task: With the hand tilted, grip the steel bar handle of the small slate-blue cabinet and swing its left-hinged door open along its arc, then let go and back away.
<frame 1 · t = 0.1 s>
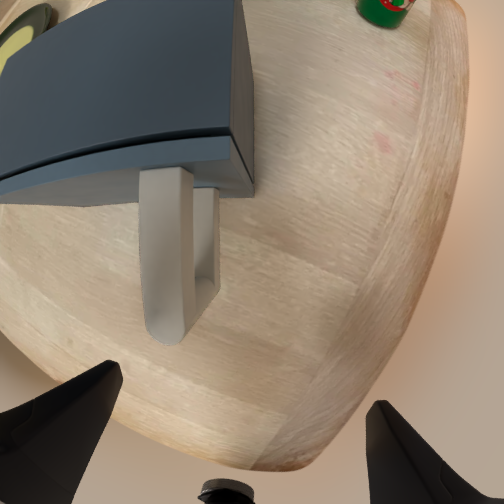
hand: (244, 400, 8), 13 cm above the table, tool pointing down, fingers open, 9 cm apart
cabinet door: (117, 239, 15), point 6 cm above the table, hinge at 0.0°
soda can: (377, 15, 17), on the table
plate: (2, 74, 21), on the table
cabinet: (160, 136, 20), on the table
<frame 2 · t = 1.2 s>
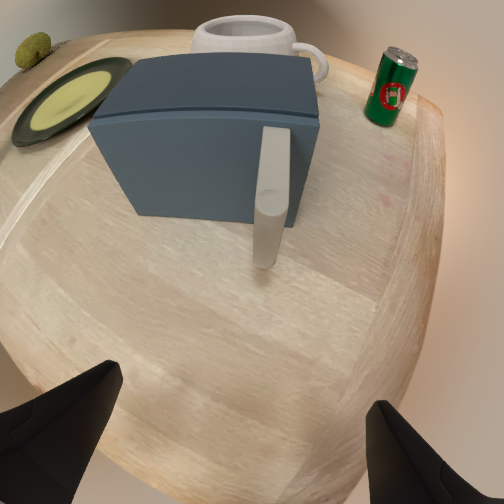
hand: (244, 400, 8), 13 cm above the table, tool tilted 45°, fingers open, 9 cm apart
cabinet door: (194, 209, 19), point 6 cm above the table, hinge at 0.0°
mug: (257, 80, 37), on the table
soda can: (378, 118, 34), on the table
fruit: (38, 62, 57), on the table
plate: (71, 102, 37), on the table
cabinet: (220, 176, 28), on the table
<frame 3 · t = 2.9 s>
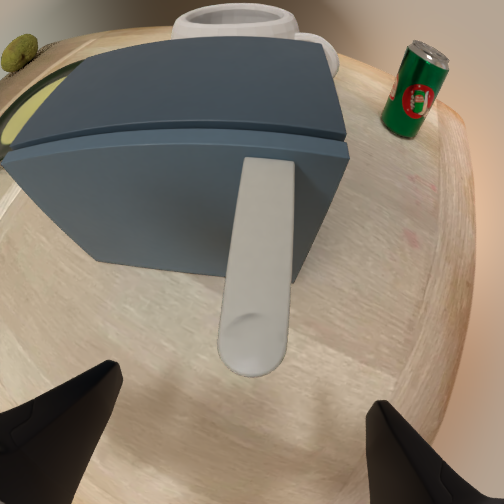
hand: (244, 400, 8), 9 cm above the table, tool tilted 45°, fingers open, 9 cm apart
cabinet door: (146, 281, 12), point 6 cm above the table, hinge at 0.0°
mug: (251, 80, 31), on the table
soda can: (397, 127, 27), on the table
fruit: (24, 65, 51), on the table
plate: (44, 110, 31), on the table
cabinet: (198, 208, 22), on the table
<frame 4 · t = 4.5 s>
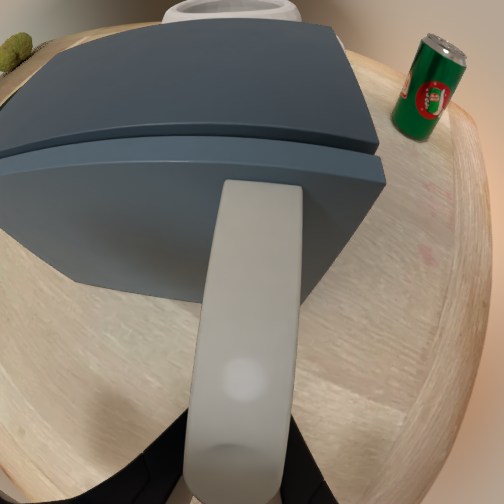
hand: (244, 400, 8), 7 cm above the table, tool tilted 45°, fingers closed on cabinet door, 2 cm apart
cabinet door: (117, 324, 10), point 6 cm above the table, hinge at 0.0°, touching gripper
mug: (249, 75, 28), on the table
soda can: (408, 128, 25), on the table
fruit: (19, 64, 48), on the table
cabinet: (186, 222, 19), on the table
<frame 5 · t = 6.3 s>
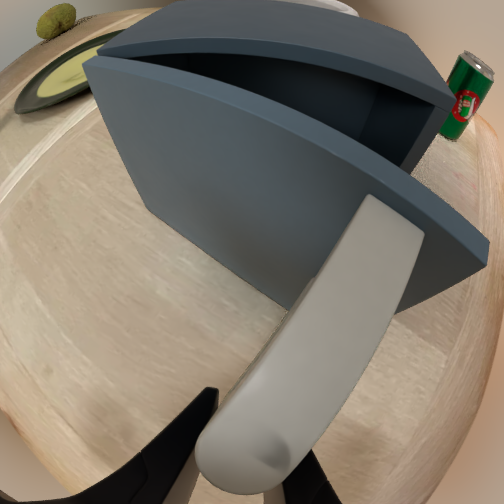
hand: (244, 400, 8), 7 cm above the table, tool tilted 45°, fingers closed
cabinet door: (178, 266, 11), point 6 cm above the table, hinge at 24.2°, touching gripper
mug: (309, 65, 29), on the table
soda can: (442, 129, 26), on the table
fruit: (60, 34, 52), on the table
plate: (86, 70, 31), on the table
cabinet: (266, 169, 21), on the table
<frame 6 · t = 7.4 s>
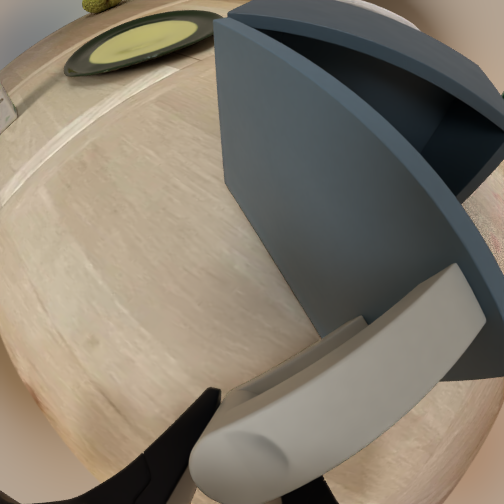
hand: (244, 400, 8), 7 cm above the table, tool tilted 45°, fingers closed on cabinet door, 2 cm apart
cabinet door: (239, 252, 11), point 6 cm above the table, hinge at 41.8°, touching gripper
mug: (369, 73, 29), on the table
fruit: (106, 9, 55), on the table
plate: (143, 44, 32), on the table
syrup box: (5, 124, 26), on the table
cabinet: (341, 164, 21), on the table
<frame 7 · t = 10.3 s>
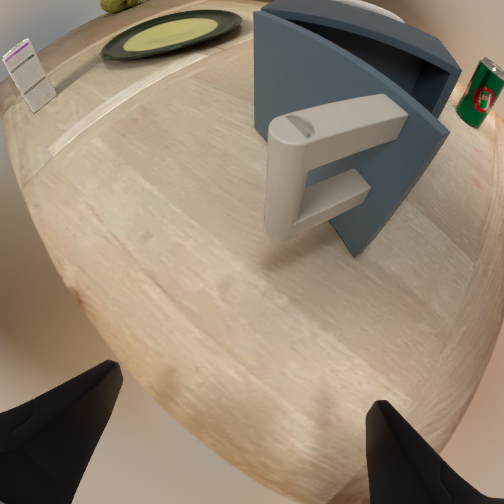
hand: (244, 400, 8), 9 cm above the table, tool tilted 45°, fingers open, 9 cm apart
cabinet door: (274, 135, 16), point 6 cm above the table, hinge at 42.7°
mug: (364, 59, 33), on the table
soda can: (466, 119, 29), on the table
fruit: (123, 10, 62), on the table
plate: (171, 37, 38), on the table
syrup box: (43, 102, 32), on the table
cabinet: (341, 118, 26), on the table
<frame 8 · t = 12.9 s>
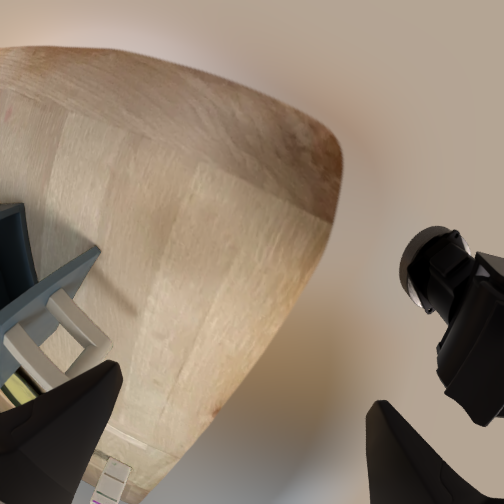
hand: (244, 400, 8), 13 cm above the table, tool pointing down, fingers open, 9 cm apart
cabinet door: (57, 350, 18), point 6 cm above the table, hinge at 42.7°
plate: (25, 391, 37), on the table
syrup box: (120, 463, 42), on the table
cabinet: (16, 265, 24), on the table
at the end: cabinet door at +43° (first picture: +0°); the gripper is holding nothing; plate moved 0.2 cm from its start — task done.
